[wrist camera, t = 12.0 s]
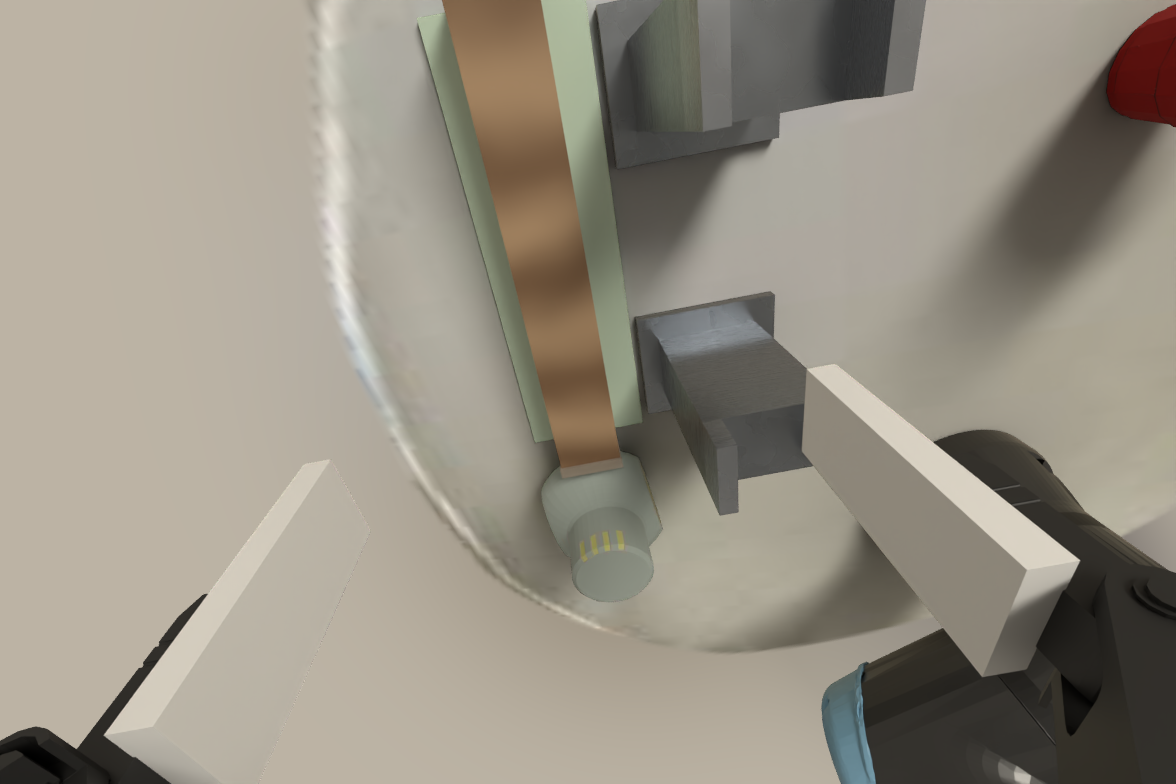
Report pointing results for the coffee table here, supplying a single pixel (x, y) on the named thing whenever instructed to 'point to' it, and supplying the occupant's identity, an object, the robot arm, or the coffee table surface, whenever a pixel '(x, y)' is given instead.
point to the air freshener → (605, 528)
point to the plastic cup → (1147, 71)
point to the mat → (591, 194)
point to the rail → (538, 217)
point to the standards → (721, 120)
